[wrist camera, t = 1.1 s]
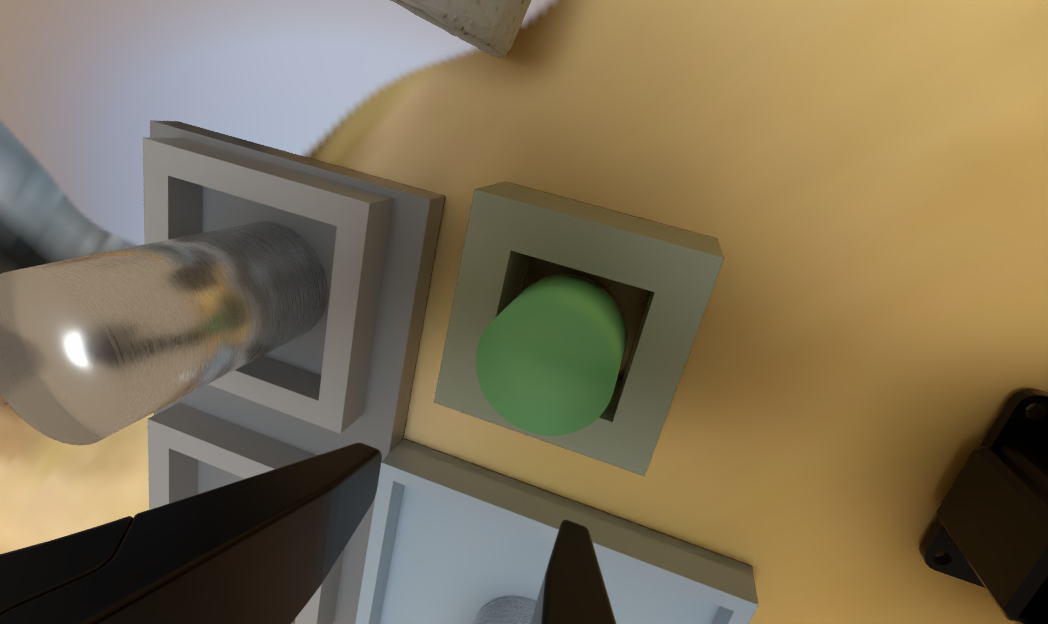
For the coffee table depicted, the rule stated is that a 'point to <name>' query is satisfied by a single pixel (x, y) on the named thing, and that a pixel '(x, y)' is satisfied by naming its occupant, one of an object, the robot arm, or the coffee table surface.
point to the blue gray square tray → (522, 551)
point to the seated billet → (149, 324)
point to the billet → (506, 611)
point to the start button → (553, 355)
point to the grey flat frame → (313, 358)
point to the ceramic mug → (475, 20)
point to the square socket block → (597, 248)
